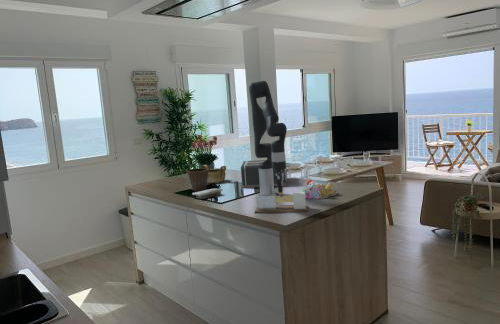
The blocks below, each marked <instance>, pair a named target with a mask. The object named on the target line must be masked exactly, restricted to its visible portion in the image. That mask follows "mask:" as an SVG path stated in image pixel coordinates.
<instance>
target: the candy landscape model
mask: <svg viewBox="0 0 500 324" xmlns="http://www.w3.org/2000/svg"><path fill="white" fill-rule="evenodd" d="M306 185H307V186H306V188H305V187H303V188H301V190H300V191H299V192H305V199H307V200H308V199H310V200H318V199H328V198H329V197H333V196H336V195H337V194H338V191H337V190H335V189H334V188H333V186H334V185H333V183H331V182H328V183H327V184H322V183H319V182H317V181H313V180H312V179H307V180H306ZM311 198H313V199H311Z"/></svg>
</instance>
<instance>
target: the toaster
mask: <svg viewBox="0 0 500 324" xmlns="http://www.w3.org/2000/svg"><path fill="white" fill-rule="evenodd" d="M266 160H267V158H265V159H256V160H255V159H254V160H253V159H252V160H245V161H244V160H243V162H242V164H241V166H240V176H241V189H255V187H257V188H260V182H259V169H258V165H259V164H260V163H263V162H264V161H266ZM290 166H291V164H290V163H289V162H286V169H283V170H282V172H283V173H284V175H283V178H284V179H283V187H286V186H287V183H286V181H287V180H288V172H287V171H288V170H287V168H288V167H290ZM276 172H277V170H273V178H274V186H275V187H278V185H277V181H276Z"/></svg>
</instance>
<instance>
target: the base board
mask: <svg viewBox="0 0 500 324" xmlns="http://www.w3.org/2000/svg"><path fill="white" fill-rule="evenodd" d="M308 207H309V205H308V204H306V208H305V209H294V204H286V205H285V204H284V205H281V204H280V205H278V204H277V207H276V209H268V210H258V209H257V208H256V209H255V210H254V214H278V213H280V214H282V213H286V214H287V213H307V212H308Z"/></svg>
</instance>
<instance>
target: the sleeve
mask: <svg viewBox="0 0 500 324" xmlns="http://www.w3.org/2000/svg"><path fill="white" fill-rule="evenodd" d="M275 196H277V194H276V193H275V194H262V195H260V194H257V195H256V209H258V210H268V209H276V207H277V205H278V203H275Z"/></svg>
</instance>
